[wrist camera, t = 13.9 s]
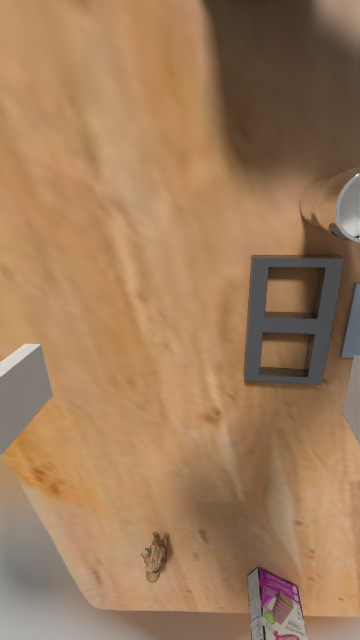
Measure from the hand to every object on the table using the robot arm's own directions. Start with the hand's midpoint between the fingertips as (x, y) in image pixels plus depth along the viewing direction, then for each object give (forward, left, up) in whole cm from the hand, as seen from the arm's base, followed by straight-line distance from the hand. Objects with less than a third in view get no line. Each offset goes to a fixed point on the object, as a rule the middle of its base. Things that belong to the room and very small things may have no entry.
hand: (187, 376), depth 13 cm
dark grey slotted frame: (+11, +12, -35) cm, 38 cm away
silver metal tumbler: (-6, +15, -35) cm, 38 cm away
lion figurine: (+69, -12, -35) cm, 78 cm away
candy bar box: (+78, +16, -35) cm, 87 cm away
